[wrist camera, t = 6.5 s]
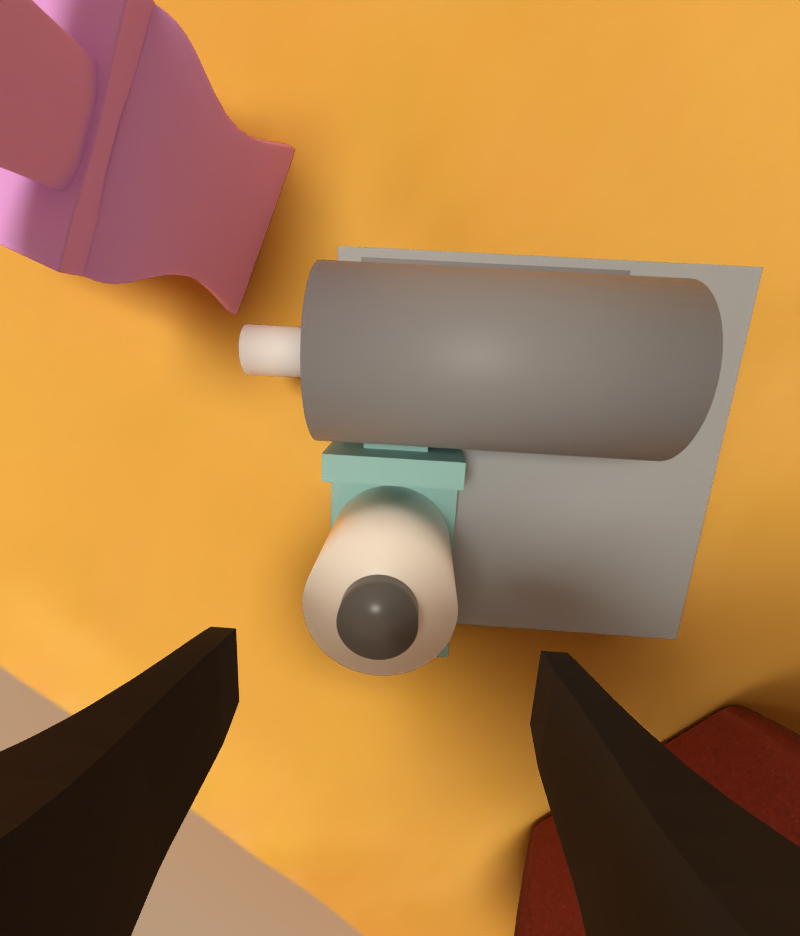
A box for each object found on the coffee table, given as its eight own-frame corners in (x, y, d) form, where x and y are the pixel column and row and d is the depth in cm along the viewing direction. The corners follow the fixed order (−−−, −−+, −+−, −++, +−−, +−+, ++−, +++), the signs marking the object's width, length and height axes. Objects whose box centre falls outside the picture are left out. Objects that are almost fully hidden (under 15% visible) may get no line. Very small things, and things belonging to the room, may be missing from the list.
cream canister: (454, 489, 19) (466, 555, 13) (445, 597, 20) (453, 699, 15) (332, 482, 19) (294, 544, 13) (332, 590, 20) (296, 687, 15)
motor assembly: (748, 270, 18) (924, 233, 11) (666, 628, 22) (765, 745, 15) (278, 246, 18) (204, 199, 12) (282, 601, 22) (228, 703, 16)
